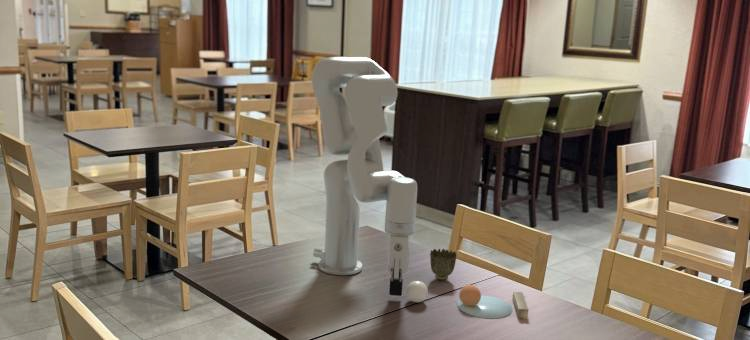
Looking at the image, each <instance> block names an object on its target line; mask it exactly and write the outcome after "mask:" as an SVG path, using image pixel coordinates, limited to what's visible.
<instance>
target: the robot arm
mask: <svg viewBox="0 0 750 340" xmlns="http://www.w3.org/2000/svg"><path fill="white" fill-rule="evenodd" d="M311 85H312V90H313V94H314V97H315V99H316V102H317V105H318V109H319V114H320V115H319V116H320V123H321V128H322V129H321V130H322V137H323V142H324V143H323V144H324V147H325V150H326V152H327V153H328V154H329V155H332V156H345V155H346V156H348V157H347V159H340V160H336V161H333V162H330V163H329V164H328V165H327V166H326V167H325V168H324V172H323V182H324V190H325V232H324V233H325V234H324V248H320V247H315V248H313V249H314V250H313V254H312V255H313V257H315V258H319V259H320V260H319V262H318V269H319V270H320V271H322V272H323V273H326V274H328V275H335V276H350V275H355V274H358V273H360V272H361V271H362V270H363V263H362V262H361V261H360V260H358V255H359V252H358V251H359V234H360V216H361V215H360V213H361V211H360V205H359V203H358V201H359V202H361V203H374V202H375V203H376V202H380V201H385V203H386V206H385V221H384V232H385V233H386V234H387V235H388V254H387V255H388V257H387V258H388V259H387V261H388V272H389V273H391V275H390V279H389V292H388V294H389V295H390V296H397V297H400V296H402V295H403V283H404V282H403V281H404V280H403V274H405V275H407V274H409V273H408V272H409V265H410V264H409V263H410V248H411V236H413V235H414V234H415V230H416V229H415V228H416V227H415V226H416V213H417V202H418V201H417V200H418V199H417V198H418V182H417V181H416V180H415V179H414V178H410V177H406V176H404V175H403V174H402V173H400V172H399V171H396V170H385V169H384V165H383V164H384V163H383V157H382V151H381V143H380V139H381V138H382V137H384V136H385V135H386V134H387V132H388V125H387V122H386V118H385V114H384V109H383V107H389V106H392V105H394V104H395V102H396V101H397V98H398V94H399V93H398V87H397V83H396V81H395V80H394V78H393V77H392V76H391V74H389V73H388V72H387V71H386V70H385V69H383V67H381V66H380V65H379V64H378V63H377V62H375V60H372V59H371V58H369V57H364V56H363V57H362V56H330V57H329V56H328V57H324V58H321V59H320V60H318V61H317V62H316V63H315V64H314V67H313V69H312V73H311ZM340 88H341V89H343V88H344V89H345V96H346V97H345V96H344V94H343V93H342V92H341V91H340ZM356 199H357V200H356Z"/></svg>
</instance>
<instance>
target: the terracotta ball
mask: <svg viewBox="0 0 750 340" xmlns="http://www.w3.org/2000/svg"><path fill="white" fill-rule="evenodd" d="M481 295H482V292H481V290H480V289H479V287H478V286H476V285H474V284H466V285H464V286H462V287H461V289H460V290H459V295H458V297H459V299H460V300H461V302H462V303H463V304H464V305H466V306H475V305H477V304H478V303H479V301H480V299H481Z"/></svg>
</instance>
